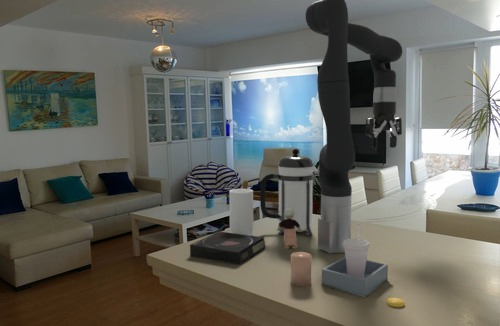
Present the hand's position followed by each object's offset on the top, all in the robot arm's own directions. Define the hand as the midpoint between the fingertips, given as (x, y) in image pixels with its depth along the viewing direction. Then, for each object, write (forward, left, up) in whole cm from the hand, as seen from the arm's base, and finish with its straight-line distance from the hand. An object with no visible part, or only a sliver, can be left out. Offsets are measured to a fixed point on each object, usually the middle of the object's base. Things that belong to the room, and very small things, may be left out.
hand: (383, 148), depth 145 cm
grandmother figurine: (-38, 0, -30) cm, 49 cm away
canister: (-50, -26, -30) cm, 64 cm away
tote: (-38, -32, -30) cm, 58 cm away
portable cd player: (-57, +4, -31) cm, 65 cm away
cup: (-46, +19, -30) cm, 58 cm away
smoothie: (-38, -32, -30) cm, 58 cm away
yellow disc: (-38, -46, -30) cm, 66 cm away
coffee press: (-28, +15, -30) cm, 44 cm away
